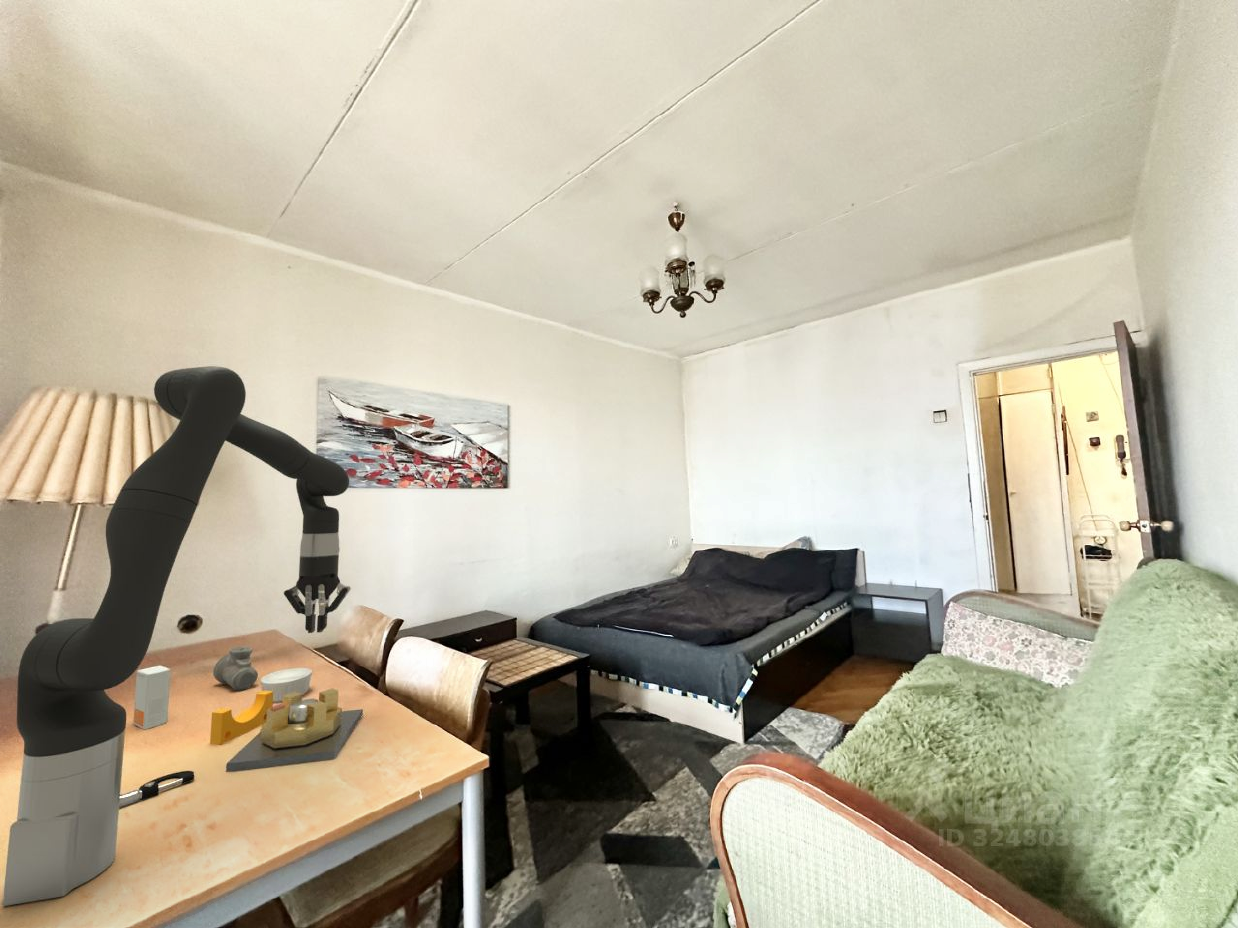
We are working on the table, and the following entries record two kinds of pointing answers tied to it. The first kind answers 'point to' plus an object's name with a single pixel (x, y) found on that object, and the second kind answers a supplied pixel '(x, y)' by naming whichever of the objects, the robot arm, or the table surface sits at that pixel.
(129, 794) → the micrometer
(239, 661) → the pipe fitting
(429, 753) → the table surface
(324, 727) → the ring nut
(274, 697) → the ramekin
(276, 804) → the table surface
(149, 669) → the skincare box
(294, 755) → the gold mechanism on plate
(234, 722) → the pipe clamp
